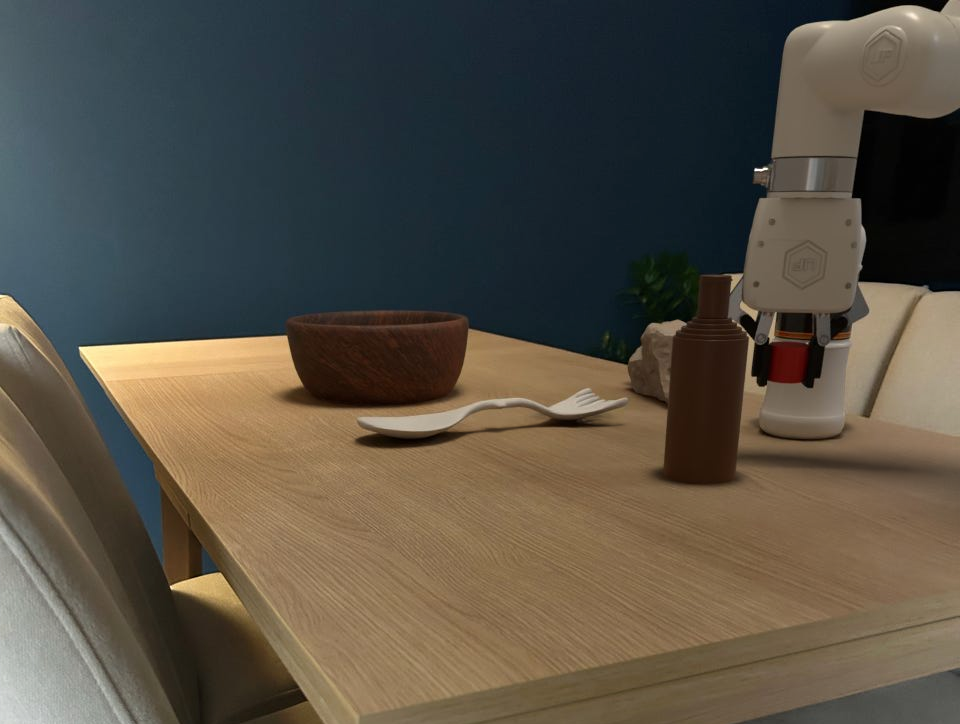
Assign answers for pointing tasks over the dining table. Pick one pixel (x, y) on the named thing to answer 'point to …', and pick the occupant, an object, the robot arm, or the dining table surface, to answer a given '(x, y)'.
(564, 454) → the dining table surface
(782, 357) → the cap
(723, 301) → the sauce bottle
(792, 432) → the vodka
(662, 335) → the decorative stone
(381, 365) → the wooden bowl
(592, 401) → the white spork
